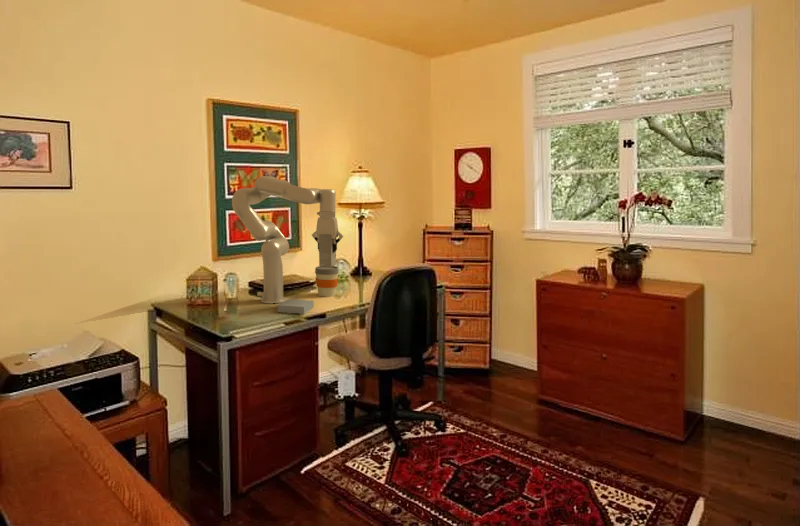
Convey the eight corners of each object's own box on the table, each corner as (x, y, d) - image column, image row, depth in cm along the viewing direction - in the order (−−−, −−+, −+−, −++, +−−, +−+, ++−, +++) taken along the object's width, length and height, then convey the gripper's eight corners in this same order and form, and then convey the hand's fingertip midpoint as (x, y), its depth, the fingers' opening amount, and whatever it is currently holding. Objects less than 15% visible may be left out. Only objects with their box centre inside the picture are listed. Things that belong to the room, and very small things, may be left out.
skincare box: (331, 267, 263) (332, 234, 261) (317, 266, 265) (317, 234, 262) (336, 264, 271) (337, 233, 269) (323, 263, 273) (323, 232, 270)
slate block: (277, 313, 255) (277, 305, 254) (288, 306, 267) (288, 299, 267) (304, 315, 252) (303, 306, 252) (313, 308, 265) (313, 300, 264)
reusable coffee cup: (319, 291, 300) (319, 265, 298) (341, 293, 298) (341, 266, 295) (311, 296, 288) (311, 268, 286) (334, 298, 286) (334, 270, 283)
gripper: (307, 214, 262) (307, 251, 265) (342, 216, 258) (341, 253, 261) (313, 213, 269) (313, 249, 272) (347, 215, 266) (346, 251, 269)
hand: (327, 251), depth 267 cm, fingers closed on skincare box, 6 cm apart
